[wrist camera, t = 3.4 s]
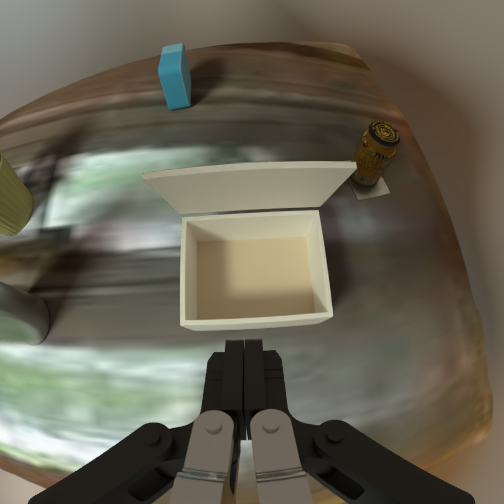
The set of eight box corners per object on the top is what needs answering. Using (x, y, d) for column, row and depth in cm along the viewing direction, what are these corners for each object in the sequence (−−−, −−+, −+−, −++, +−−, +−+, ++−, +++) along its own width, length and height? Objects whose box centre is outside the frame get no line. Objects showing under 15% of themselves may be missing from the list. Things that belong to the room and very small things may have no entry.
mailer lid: (356, 168, 23) (355, 161, 23) (142, 179, 23) (142, 171, 23) (320, 206, 37) (319, 201, 37) (180, 214, 37) (180, 209, 37)
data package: (173, 83, 59) (163, 44, 48) (191, 79, 59) (183, 40, 48) (170, 113, 55) (157, 71, 44) (190, 109, 55) (180, 66, 44)
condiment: (370, 157, 50) (391, 115, 39) (390, 193, 48) (418, 154, 36) (338, 162, 50) (355, 117, 39) (357, 201, 47) (382, 159, 36)
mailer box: (318, 323, 40) (333, 316, 33) (194, 330, 40) (180, 325, 32) (308, 234, 45) (318, 210, 37) (193, 240, 45) (182, 217, 37)
